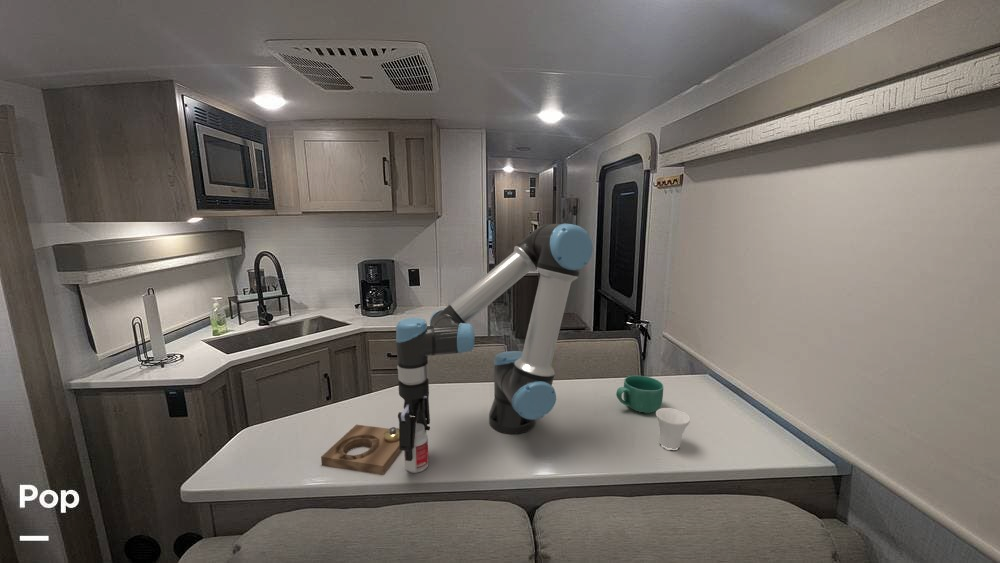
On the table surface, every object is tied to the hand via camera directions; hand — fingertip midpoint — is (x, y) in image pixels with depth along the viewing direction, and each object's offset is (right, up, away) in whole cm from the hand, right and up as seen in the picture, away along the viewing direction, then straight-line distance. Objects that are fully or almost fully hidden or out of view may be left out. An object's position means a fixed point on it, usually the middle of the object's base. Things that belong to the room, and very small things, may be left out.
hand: (416, 461), depth 97 cm
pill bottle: (0, -2, 0) cm, 2 cm away
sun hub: (-9, +3, +9) cm, 13 cm away
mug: (+70, +3, +30) cm, 76 cm away
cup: (+71, 0, +9) cm, 72 cm away
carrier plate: (-15, 0, +6) cm, 16 cm away
